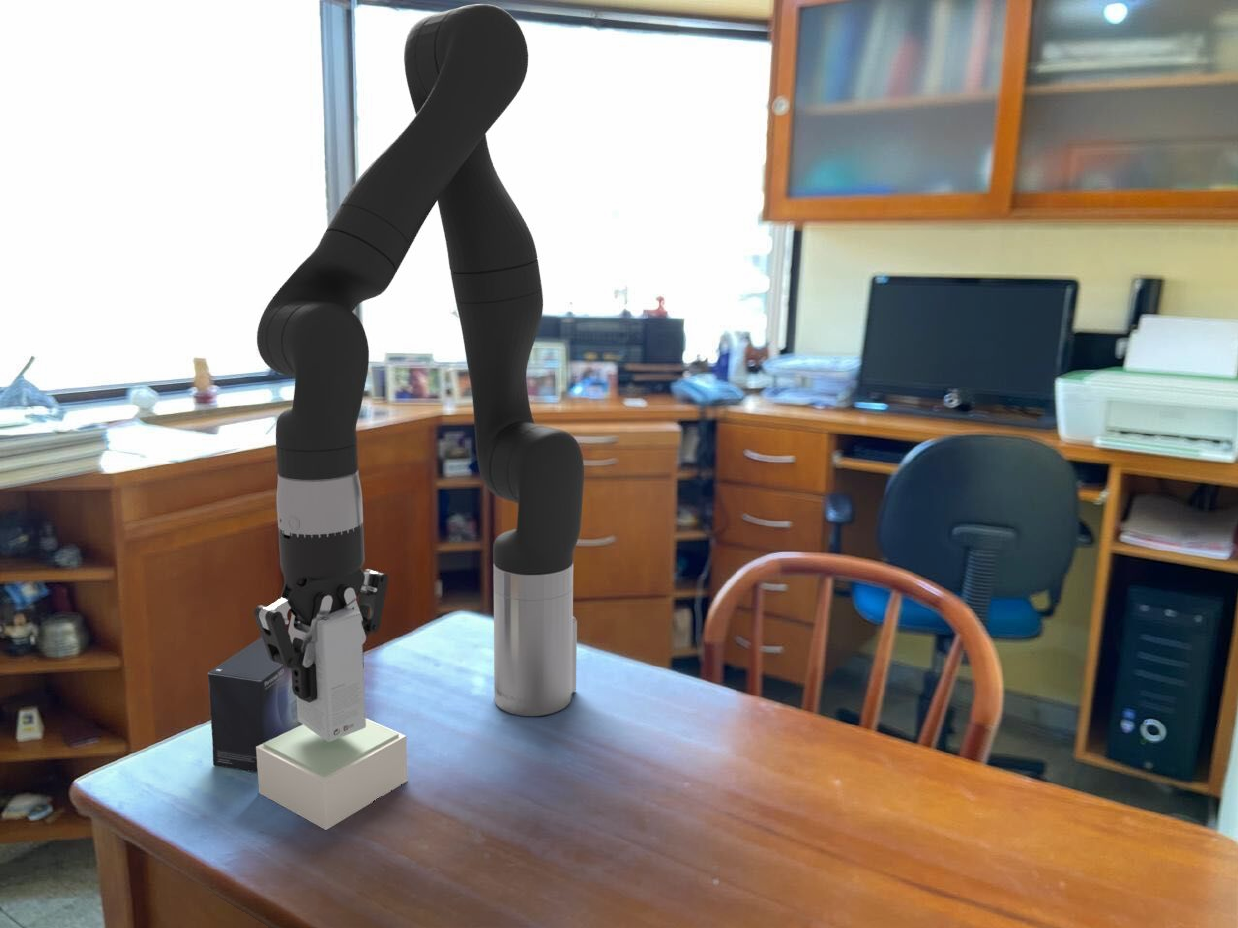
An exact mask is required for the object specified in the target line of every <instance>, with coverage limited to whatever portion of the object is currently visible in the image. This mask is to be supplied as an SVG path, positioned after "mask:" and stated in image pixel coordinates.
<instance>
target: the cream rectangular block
mask: <svg viewBox="0 0 1238 928" xmlns="http://www.w3.org/2000/svg"><path fill="white" fill-rule="evenodd" d="M407 749H408V748H407V735H405V734H403V733H401V732H398V731H396V730H395V729H391V728H389V727H387V726H385V725H382V724H380V723H377V722H375V721H373V720H371V719H369V718H366V727H365V728H363V729H361V730H358V731H356V732H353V733H350V734H348V735H346V736H343V737H341V738H338V739H336V740H333V741H330V742H327V741H326V740H325V739H323V738H322V737H320V736H319V735H318V734H316V733H315V732H313V731H312V730H310V729H309V728H308V727H306V726H305V725H301V726H299V727H296V728H294V729H292V730H290V731H288V732H286V733H284V734H282V735H280V736H278V737H276V738H274V739H271V740H269V741H267V742H265V743H263V744H261V745H259V746H257V747H256V754H257V767H258V772H257V779H258V780H257V781H258V790H259V791H258V792H259V794H260V795H262V796H264V797H266V798H268V799H270V800H271V801H273V802H275V803H277V804H278V805H280V806H282V807H284V808H285V809H288V810H289V811H290V812H293V813H294V814H296V815H297V816H298V815H299V816H300V817H301V818H304V819H306V820H307V821H308V822H310V823H312V824H314V825H316V826H318V827H319V828H321V829H323V830H325V831H327V830H329V829H331V828H332V827H334V826H335V825H337V824H339V823H340V822H342V821H344V820H345V819H347V818H349V817H351V816H352V815H354V814H355V813H358V812H359V811H360V810H362V809H363V808H365V807H367V806H368V805H370V804H372V803H373V801H374V800H375V801H377V800H378V799H377V798H379V797H380V796H382V797H384V796H385V795H386V794H388V793H390V792H391V790H392V791H393V790H395V789H396V788H399V787H400V786H402V785H403V784H405V783H407V782H408V754H407V753H408V752H407ZM401 784H402V785H401ZM380 798H381V797H380ZM380 798H379V799H380ZM376 799H377V800H376Z"/></svg>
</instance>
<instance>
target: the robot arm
mask: <svg viewBox="0 0 1238 928" xmlns="http://www.w3.org/2000/svg"><path fill="white" fill-rule="evenodd" d="M403 52H404V53H403V55H404V56H403V62H404V71H405V73H404V74H405V78H406V83H407V87H408V91H409V95H410V98H411V103H412V106H413V110H414V112H415V116H414V118H413V119H412V120H411V121H410V123H409V124H408V125H407V126H406V127H405V128H404V129H403V131H402V132H401V133H400V134H399V135H398V136H397V137H396V139H394V140H393V142H391V143H390V144H389V146H388V147H387V148H385V149H384V151H383V152H381V154H380V155H379V156H378V157H377V158H376V159H375V160H374V161H373V162H372V163H371V164H370V165H369V166H368V168H366V169H365V170H364V172H363V173H362V174H361V175H360V176H359V177H358V178H357V180H355V182H354V184H353V185H352V187H351V188H350V189H349V191H348V192H347V194H346V195H345V196H344V198H343V200H342V202H341V203H340V205H339V207H338V209H337V210H336V213H335V214H334V216H333V218H332V220H331V222H330V223H329V224H328V227H327V228H326V230H325V232H324V233H323V235H322V237H321V239H320V241H319V243H318V245H317V247H316V248H315V249H314V251H312V252H311V254H310V255H309V256H308V257H307V258H306V259H305V260H304V261H303V262H302V263H301V264H300V265H299V266H298V267H297V268H296V270H294V272H293V273H292V274H291V276H290V277H288V278H287V279H286V281H285V282H284V284H282V286H281V287H280V288H279V289H278V290H277V292H275V294H274V295H273V296H272V298H271V299H270V301H269V302H268V304H267V305H266V307H265V309H264V311H263V313H262V315H261V318H260V320H259V323H258V328H257V331H256V345H257V349H258V353H259V355H260V357H261V359H262V360H263V361H264V363H265V364H266V366H267V367H269V368H270V369H271V370H273V371H274V372H276V373H278V374H280V375H283V376H286V377H290V378H294V392H293V401H292V407H290V408H288V409H286V410H284V411H283V412H281V413H280V414H279V416H278V417H277V420H276V425H275V451H276V465H277V488H276V515H277V531H278V549H279V550H278V551H279V564H280V569H281V572H282V574H283V575H282V576H283V579H284V584H283V588H282V591H281V593H280V598H279V599H277V600H276V601H275V602H273V603H271V604H270V605H268V606H266V605H262V604H261V605H258V606H256V608H255V609H254V610H253V611H254V612H253V615H254V618H255V621H256V624H257V628H258V629H259V632H260V636H261V637H262V638H263V641H264V643H265V646H266V649H267V652H268V655H269V657H270V659H271V660H272V661H274V662H278V663H280V664H282V665H284V666H286V667H288V668H291V674H292V691H293V692H294V694H295V695H297V696H298V697H299V698H300V699H302V700H304V701H306V702H309V703H310V702H312V701H314V700H316V699H317V678H316V665H315V664H313V662H314V658H315V653H316V649H315V643H316V642H317V641H318V634H317V622H318V621H320V620H323V619H325V618H327V615H328V614H330V613H333V612H335V611H338V610H341V609H346V610H350V609H354V610H356V611H358V612H360V613H361V628H362V650H363V651H364V644H365V642H366V640H367V637H368V636H369V635H371V634H375V633H378V631H380V627H381V622H382V621H381V620H382V617H383V611H384V605H385V600H386V595H387V588H388V581H389V576H388V575H387V574H386V573H383V572H379V571H377V570H373V569H369V568H367V569H364V570H363V569H362V568H363V566H364V563H365V561H366V560H365V559H366V558H365V538H364V537H365V533H364V530H365V529H364V511H363V510H364V509H363V505H364V504H363V492H362V486H361V481H360V476H359V475H360V474H359V461H358V460H359V459H358V454H359V453H358V437H357V436H358V435H357V425H358V420H359V416H360V414H361V413H360V412H361V408H362V403H363V398H364V393H365V388H366V383H367V377H368V372H369V363H370V361H369V360H370V351H369V349H370V348H369V342H368V338H367V334H366V332H365V331H366V330H365V328H364V326H363V324H362V321H360V318H359V317H358V316H357V315H356V314H355V313H354V311H355V309H356V308H357V307H358V306H359V305H360V304H361V303H363V302H365V301H367V300H370V299H373V298H376V297H378V296H380V295H382V294H383V293H384V292H385V291H386V289H388V287H389V285H390V284H391V283H392V281H393V279H394V278H395V276H396V273H397V272H398V270H399V268H400V267H401V265H402V263H403V261H404V259H405V258H406V256H407V254H408V252H409V250H410V248H411V247H412V244H413V243H414V242H415V239H416V238H417V235H418V233H419V231H420V229H421V228H422V226H423V225H424V222H425V220H427V218H428V217H429V214H430V213H431V212H432V210H433V208H434V207H435V205H436V204H437V205H438V209H439V215H440V219H441V223H442V230H443V233H444V239H445V240H444V241H445V245H446V251H447V257H448V258H447V259H448V266H449V271H450V272H449V273H450V276H451V277H450V278H451V283H452V288H453V295H454V299H455V303H456V309H457V314H458V318H459V321H460V327H461V328H460V329H461V333H462V339H463V345H464V350H465V351H464V353H465V357H466V358H465V359H466V363H467V369H468V370H467V371H468V375H469V380H470V381H469V382H470V388H471V389H470V390H471V398H472V399H471V400H472V408H473V409H472V410H473V424H474V436H475V451H476V452H475V453H476V457H477V458H476V459H477V467H478V471H479V474H480V477H481V479H482V481H483V483H484V485H485V486H486V488H487V489H488V490H489V491H490V492H491V493H493V494H494V496H497V497H498V498H501V499H504V500H506V501H508V502H513V503H516V504H517V505H518V507H517V519H516V520H517V521H516V528H514V529H510V530H508V531H504V532H503V533H500V534H499V535H498V536H497V537H496V538H495V540H494V542H493V545H492V546H493V549H492V560H493V561H492V562H493V653H494V654H493V655H494V656H493V679H494V681H493V682H494V683H493V684H494V685H493V686H494V687H493V688H494V693H493V695H494V699H493V700H494V702H495V704H496V705H497V707H498V708H499V709H501V710H503V712H504V711H505V712H506V713H509V714H512V715H516V716H525V717H539V716H547V715H551V714H554V713H555V714H556V712H560V711H561V710H563V709H565V708H566V707H568V706H569V705H570V703H571V701H572V696H573V695H572V694H573V693H575V692H577V658H578V657H577V655H578V654H577V650H578V649H577V643H578V642H577V641H578V638H577V637H578V636H577V635H578V620H577V619H576V616H574V614H573V613H574V551H575V548H576V546H577V543H578V540H579V536H580V533H581V529H582V528H581V526H582V512H583V495H584V486H585V485H584V484H585V483H584V482H585V464H584V457H583V452H582V449H581V446H580V444H579V443H578V441H577V440H576V438H575V437H574V436H573V435H572V434H571V433H570V432H567V431H565V430H562V429H558V428H554V427H550V426H546V425H542V424H541V425H540V424H536V423H535V421H534V418H533V414H532V409H531V405H530V400H529V399H530V398H529V393H528V385H527V372H528V370H527V369H528V364H529V360H530V357H531V353H532V350H533V346H534V344H535V340H536V338H537V335H538V332H539V329H540V328H539V327H540V325H541V321H542V317H543V316H542V315H543V313H544V312H543V311H544V295H543V286H542V279H541V273H540V267H539V260H538V254H537V247H536V245H535V241H534V238H533V235H532V232H531V231H530V229H529V227H528V225H527V223H526V221H525V219H524V218H523V215H522V214H521V212H520V210H519V208H518V207H517V205H516V203H515V202H514V200H513V199H512V196H510V194H509V193H508V191H507V189H506V187H505V186H504V183H503V182H502V181H501V178H500V176H499V175H498V172H497V170H496V168H495V166H494V163H493V160H492V157H491V153H490V150H489V145H488V141H487V132H489V131H490V129H491V128H492V126H493V125H494V124H495V123H496V122H497V120H498V119H499V118H500V116H502V115H503V113H504V112H505V111H506V109H507V108H508V106H510V104H511V103H512V102H513V100H514V99H515V98H516V96H517V95H518V93H519V92H520V90H521V88H522V86H523V84H524V82H525V80H526V77H527V72H528V67H529V50H528V43H527V40H526V36H525V35H524V33H523V30H522V28H521V26H520V25H519V23H518V22H517V20H516V19H515V17H513V15H511V14H510V13H509V12H508V11H506V10H505V9H503V8H502V7H499V6H496V5H494V4H489V3H488V4H487V3H476V4H468V5H467V4H466V5H464V6H463V5H462V6H460V7H456V8H451V9H447V10H445V11H441V12H437V13H434V14H431V15H427V16H425V17H423V18H420V19H419V20H417V21H416V23H414V24H413V26H412V27H411V28H410V30H409V32H408V35H407V37H406V39H405V44H404V51H403ZM357 598H358V599H357ZM369 610H370V611H369ZM289 612H290V613H291V617H290V620H289V619H288V613H289ZM368 616H369V617H368ZM302 624H304V625H307V626H310V627H311V628H310V631H308V630H306V629H304V628H303V626H302ZM287 625H289V626H288V627H287ZM303 642H304V644H303ZM302 646H303V649H302ZM301 650H302V651H301ZM364 662H365V661H364V657H363V669H364V667H365V665H364Z"/></svg>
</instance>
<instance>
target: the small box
mask: <svg viewBox="0 0 1238 928" xmlns="http://www.w3.org/2000/svg"><path fill="white" fill-rule="evenodd" d="M207 682H208V695H209V696H208V697H209V698H208V699H209V712H210V713H209V714H210V726H211V729H210V730H211V740H212V742H211V744H212V765H213V766H214V767H222V768H228V769H234V770H240V771H241V770H242V771H245V772H246V771H247V772H253V773H258V767H257V754H256V747H257V746H259V745H261V744H263V743H265V742H267V741H269V740H271V739H274V738H276V737H278V736H280V735H282V734H284V733H286V732H288V731H290V730H292V729H294V728H296V727H299V726H301V725H303V724H302V723H300V722H299V721H298V716H297V698H296V695H295V694H294V692H293V691H292V674H291V668H288V667H286V666H284V665H282V664H280V663H278V662H274V661H272V660H271V659H270V657H269V655H268V652H267V649H266V646H265V643H264V641H263V638H262V636H260V637H258V638H257V639H256V640H254V641H253V642H251V643H250V644H248V645H247V646H245V647H244V648H243V649H241V650H240V651H238V652H237V653H235V654H234V655H232V656H231V657H229V658H228V659H225V661H223V662H222V663H220V664H219V665H218V666H215V667H214V668H212V669H211V670H210V671H209V672H207Z"/></svg>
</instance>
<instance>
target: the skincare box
mask: <svg viewBox="0 0 1238 928" xmlns="http://www.w3.org/2000/svg"><path fill="white" fill-rule="evenodd" d="M302 626H303V628H304V629H306V630H308V631H310V628H311V627H310V626H307V625H304V624H302ZM317 634H318V641H317V642H316V643H315V649H316V653H315V658H314V662H313V664H315V665H316V678H317V699H316V700H314V701H312V702H310V703H309V702H306V701H304V700H302V699H300V698H299V697H298V696H297V695H296V698H297V716H298V721H299V722H300V723H302V724H303V725H305V726H306V727H308V728H309V729H310V730H312V731H313V732H315V733H316V734H318V735H319V736H320V737H322V738H323V739H325V740H326V741H327V742H330V741H333V740H336V739H338V738H341V737H343V736H346V735H348V734H350V733H353V732H356V731H358V730H361V729H363V728H365V727H366V700H365V699H366V697H365V675H364V672H365V671H364V668H363V662H364V661H363V658H364V649H363V650H362V628H361V613H360V612H358V611H356V610H354V609H350V610H346V609H341V610H338V611H335V612H333V613H330V614H328V615H327V618H325V619H323V620H320V621H318V622H317ZM303 644H304V642H303ZM302 649H303V646H302ZM301 651H302V650H301Z"/></svg>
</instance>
